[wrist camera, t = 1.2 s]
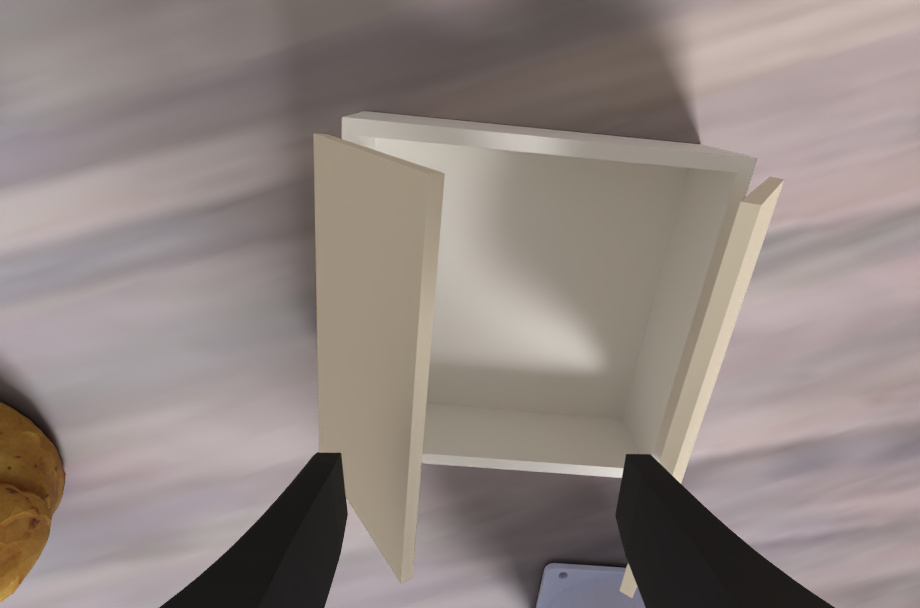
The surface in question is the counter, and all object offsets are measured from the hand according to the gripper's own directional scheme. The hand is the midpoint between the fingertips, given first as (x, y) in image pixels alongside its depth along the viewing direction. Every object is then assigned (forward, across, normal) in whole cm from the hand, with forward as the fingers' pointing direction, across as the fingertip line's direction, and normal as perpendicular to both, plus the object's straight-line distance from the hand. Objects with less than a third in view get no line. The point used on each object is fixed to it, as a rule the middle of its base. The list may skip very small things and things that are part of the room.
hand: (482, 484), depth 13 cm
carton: (+10, -2, -1) cm, 11 cm away
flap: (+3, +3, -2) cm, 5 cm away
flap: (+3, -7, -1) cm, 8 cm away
